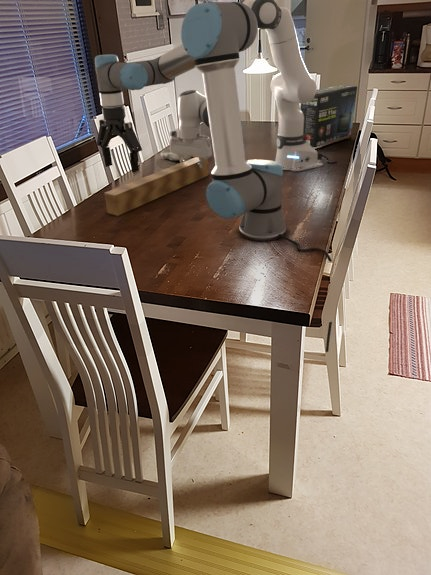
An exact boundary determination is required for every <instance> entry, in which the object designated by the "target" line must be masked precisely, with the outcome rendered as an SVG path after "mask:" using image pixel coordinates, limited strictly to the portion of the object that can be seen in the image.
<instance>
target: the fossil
mask: <svg viewBox="0 0 431 575" xmlns="http://www.w3.org/2000/svg"><path fill="white" fill-rule="evenodd" d="M160 156H161V158H162V159H163V160H169V161H174V162H177V161H179V162H180V160H179V158H178V154H175V153H172V152H171V150H170V149H169V150H168V149H165V150H162V151H161V152H160ZM183 159H184V160H185V161H187V160H190V159H192V156H186V155H183Z"/></svg>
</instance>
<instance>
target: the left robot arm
mask: <svg viewBox="0 0 431 575" xmlns="http://www.w3.org/2000/svg"><path fill="white" fill-rule="evenodd" d="M240 2H241V1H206V2H201V3H196V4H194V5H193V6H191V7H190V8H189V9H188V10H187V12H186V14H185V16H184V18H183V20H182V23H181V28H180V39H181V44H180V45H177V46H175V47H174V48H172V49H170V50H168V51H166V52H164V53H163V54H161V55H160V56H158V57H155V58H154V59H147V60H139V61H130V62H120V60H119V56H118V55H117V54H111V53H110V54H99V55H96V56H95V57H94V64H95V65H94V66H95V68H94V69H95V74H96V79H97V80H96V81H97V86H98V91H99V98H100V105H101V106H102V108H101V111H102V118H103V119H99V120H98V121H99V123H98V125H99V127H98V128H99V129H98V133H97V140H96V146H99V147H100V149H101V151H102V152H101V153H102V156H103V159H104V167H106V168H108V167H110V166H113V161H112V153H111V148H110V146H109V145H110V142H111V140H112V138H113V137H114V136H118V137H119V138H121V139H122V141H123V142H124V144H125V146H126V147H127V148H128V150H129V151H130V152H129V160H130V169H131V173H136V172H138V171H139V170H140V168H139V161H140V160H139V153H140V152H141V151H143V148H142V145H141V144H140V141H139V139H138V136H137V134H136V132H135V130H134V126H133V122H131V121H128V122H126V120H125V118H126V108H125V106H124V104H125V101H124V93H123V90H130V91H140V90H142V89H144V88H145V87H150V86H156V85H165V84H169V83H171V82H174V81H175V79H176V78H177V77H179V76H180V75H184V74H185V73H188V72H190V71H191V70H193V69H197V70H198V71H199V72H200V73H201V75H202V82H203V89H204V96H206V103H207V110H208V117H209V124H210V128H209V129H210V137H211V138H210V139H211V143H212V144H211V146H212V150H213V151H212V152H213V158H214V164H215V165H214V167H213V168H212V170H211V172H210V174H211V182H210V183H209V184H208V185H207V188H206V190H205V197H206V201H207V204H208V206H209V208H210V209H211V210H212V211H213V212H214V213H215V215H217V217H219V218H221V219H225V220H232V219H235V218H239V217H241V220H240V222H239V225H238V232H239V235H240V236H241V237H242V238H244V239H247V240H250V241H254V242H271V241H277V240H279V239H283V240H285V241H287V242H289V243H291V244H293V245H295V246H296V249H297V251H299V252H301V253H307V252H310V251H316V252H321V253H323V254H324V256H325V257H326V258H327V260H328V262H330V263H331V262H333V260H332V258H331V256H330V254H329V252H327V250H325V249H323V248H319V247H314V246H313V247H308V248H301V245H300V243H298V242H297V241H295V240H293V239H291V238H290V237H287V236H286V234H287V223H286V221H285V216H284V214H283V210H282V200H283V182H284V180H283V179H284V170H283V167H282V165H281V164H280V163H278V162H275V160H270V159H248V160H246V154H245V143H244V136H243V127H242V118H241V110H240V101H239V94H238V92H239V91H238V86H237V85H238V83H237V76H236V68H235V66H236V67H237V65H238V63H239V62H240V60H241V58H240V54H239V52H240V53H241V52H244V51H247V50H248V49H249V48H250V47H251V46H252V45H253V44H254V43H255V40H256V38H257V36H258V30H259V29H258V23H257V19H256V16H255V14H254V12H253V11H252V10H251V9H250V8H249V7H248V6H247V5H245V4H243V3H240ZM332 325H333V321H329V322H328V328H327V335H326V343H325V352H326V353H328V352H329V351H330V350H329V349H330V348H329V347H330V340H331V338H330V337H331V331H332Z"/></svg>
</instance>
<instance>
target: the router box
mask: <svg viewBox="0 0 431 575" xmlns="http://www.w3.org/2000/svg"><path fill="white" fill-rule="evenodd" d="M357 93H358V86H356V85H350V84H339V85H338V84H337V85H334V86H328V87H324V88H318V89H317V91H316V94H315V96H314V98H313V99H312V100H311V101H310V102H307V103H300V109H301V111H302V113H303V115H304V127H303V134H305V135H309V136H310V140H306V142H307V143H308V144H309V145H310V146H311V147H317V146H320V145H323V144H325V143H328V142H331V141H333V140H336V139H338V138H341V137H344V136H347V135H351V136H352V133H353V132H352V131H353V125H354V115H355V109H356V99H357Z"/></svg>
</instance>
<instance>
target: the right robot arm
mask: <svg viewBox="0 0 431 575" xmlns="http://www.w3.org/2000/svg"><path fill="white" fill-rule="evenodd" d="M239 2H240V3H243V4H245V5H247V6H248V7H249V8H250V9H251V10H252V11H253V12H254V14H255V16H256V19H257V23H258V30H264V31H265V32H266V34H267V38H268V43H269V48H270V52H271V57H272V61H273V64H274V65H275V67H276V69H277V70H278V71H279V73H277V74H275V75H274V76H273V77H272V79H271V80H270V85H269V86H270V91H271V93H272V95H273V97H274V100H275V104H276V109H277V116H278V120H277V121H278V122H277V123H278V124H277V125H278V128H277V134H276V154H275V159H274V161H275V162H278V163H280V164H281V165H282V167H284V168H283V171H292V172H301V171H306V170H311V169H314V168H320V167H323V166H324V165H323V164H324V163H323V161H322V160H323V158H325V159H326V163H327V164H328V165H329V164H330V165H333V164H337V163H338V161H336V160H335V161H332V162H331V161H329V157H328V156H327V155H324V154H323V152H322V151H320V150H317V149H316V150H315V149H314V148H313V147H311V146H310V145H309V144H308V143H307V142H306V140H310V136H309V135H305V134H303V127H304V115H303V113H302V111H301V103H307V102H310V101H311V100H312V99H313V98H314V96H315V94H316V91H317V90H318V89H317V88H318V87H317V83H316V80H314V78H313V77H312V76H311V75H310V73H309V71H308V69H307V66H306V64H305V62H304V59H303V58H302V54H301V51H300V46H299V40H298V36H297V30H296V26H295V23H294V18H293V17H292V13H291V12H290V9H289V8H287V7H285V6H279V5H278V3H277V2H276V1H275V0H241V1H239ZM239 55H241V52H239ZM236 68H237V65H236V66H235V69H236ZM177 98H178V99H177V115H178V120H179V121H178V128H176V129H173V130H170V131H169V137H170V138H169V151H170V150H171V152H172V153H175V154H178V158H179V160H180V161H179V160H178V161H179V163H182V162H185V160H184V159H183V155H186V156H192V157H193V158H195V157H198V158H199V160H200V162H199V163H198V164H197V167H198V168H202V167H203V162H204V160H205V159H208V160H209V159H211V157H212V156H213V151H212V150H213V148H212V144H211V143H212V142H211V138H210V137H209V136H208V135H207V134H201V124H202V123H203V124H205V126H207V127H208V128H209V129H210V124H209V117H208V110H207V103H206V96H205V94H202V93H200V92H198V91H197V90H196V89H190V90H185V91H183V92H181V93H180V94H179V95H178V97H177ZM192 157H191V158H192ZM318 160H320V161H322V162H319V163H323V164H321V165H316V166H312V167H307V168H302V169H300V168H298V167H300V166H304V165H309V164H313V163H317V162H318ZM327 160H328V161H329V162H327ZM296 167H297V169H296ZM290 168H293V169H290Z"/></svg>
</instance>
